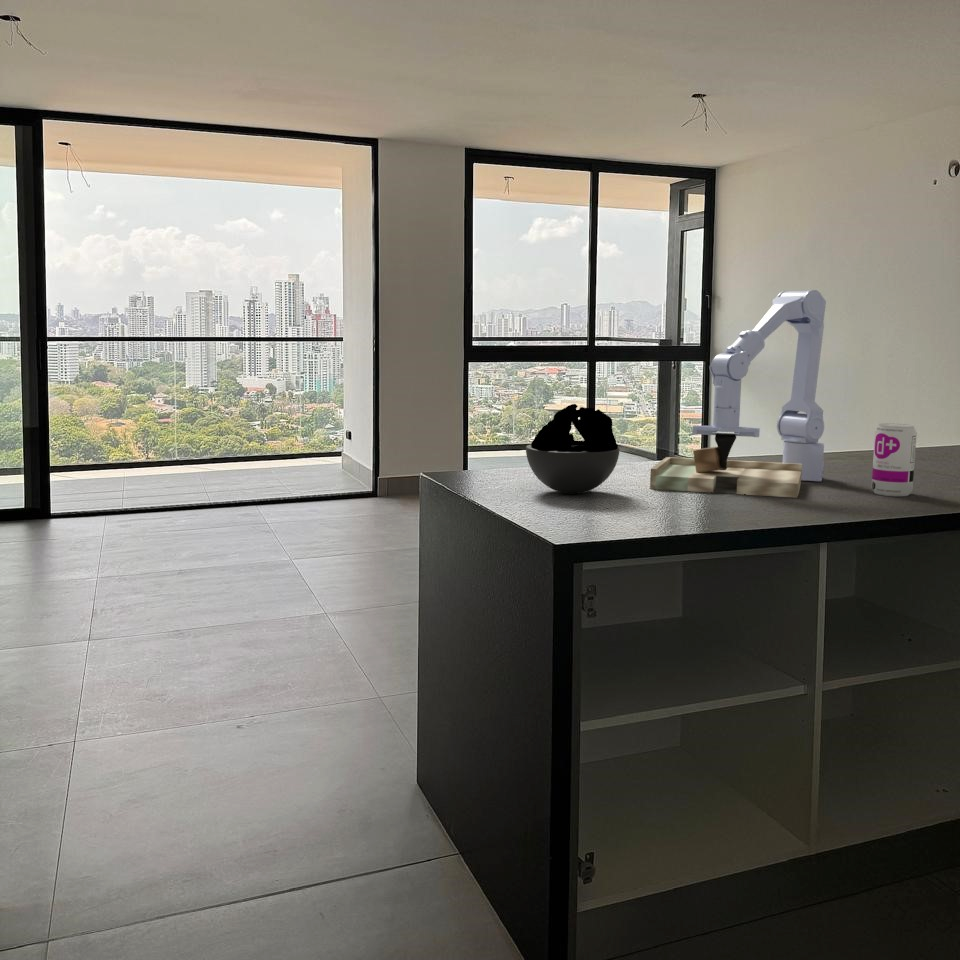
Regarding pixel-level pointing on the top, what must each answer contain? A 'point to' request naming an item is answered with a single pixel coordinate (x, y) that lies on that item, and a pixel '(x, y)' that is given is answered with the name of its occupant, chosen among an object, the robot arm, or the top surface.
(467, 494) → the top surface
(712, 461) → the walnut block
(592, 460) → the bowl of black rocks
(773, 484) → the wooden tray
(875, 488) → the supplement can
